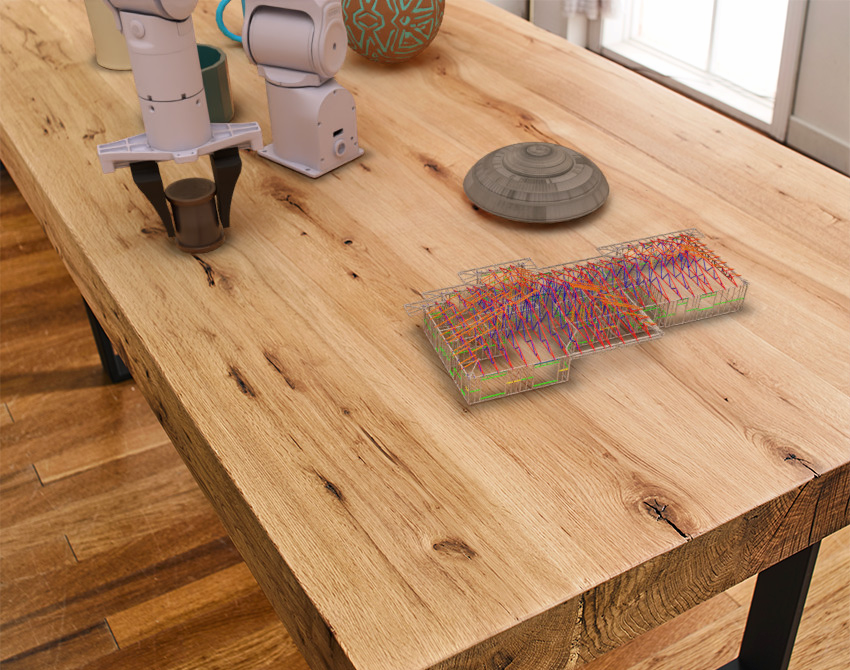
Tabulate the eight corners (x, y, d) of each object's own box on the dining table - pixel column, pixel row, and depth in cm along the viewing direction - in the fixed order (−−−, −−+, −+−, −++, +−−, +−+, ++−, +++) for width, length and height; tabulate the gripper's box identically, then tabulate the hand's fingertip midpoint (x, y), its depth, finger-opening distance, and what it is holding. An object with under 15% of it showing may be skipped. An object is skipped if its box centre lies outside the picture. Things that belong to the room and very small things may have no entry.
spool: (235, 239, 91) (226, 187, 87) (196, 258, 88) (186, 206, 84) (204, 223, 93) (194, 172, 89) (165, 242, 90) (154, 190, 87)
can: (97, 73, 123) (74, -23, 115) (96, 49, 130) (74, -43, 122) (168, 66, 125) (149, -30, 117) (163, 42, 131) (146, -49, 123)
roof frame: (687, 245, 89) (697, 196, 85) (783, 332, 78) (799, 279, 75) (391, 307, 82) (389, 255, 78) (452, 412, 71) (453, 358, 67)
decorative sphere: (425, 86, 119) (423, -40, 109) (317, 74, 122) (306, -50, 112) (458, 46, 129) (459, -72, 119) (358, 36, 133) (351, -80, 123)
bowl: (251, 114, 113) (243, 56, 108) (184, 142, 107) (173, 82, 102) (198, 93, 118) (188, 36, 113) (132, 118, 112) (118, 60, 107)
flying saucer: (615, 174, 100) (622, 125, 96) (597, 243, 89) (604, 191, 86) (480, 158, 103) (482, 110, 99) (446, 224, 92) (447, 173, 89)
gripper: (87, 119, 76) (125, 262, 85) (262, 94, 79) (280, 234, 88) (82, 87, 81) (118, 225, 90) (246, 65, 84) (265, 201, 93)
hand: (197, 227), depth 89 cm, fingers closed on spool, 4 cm apart
